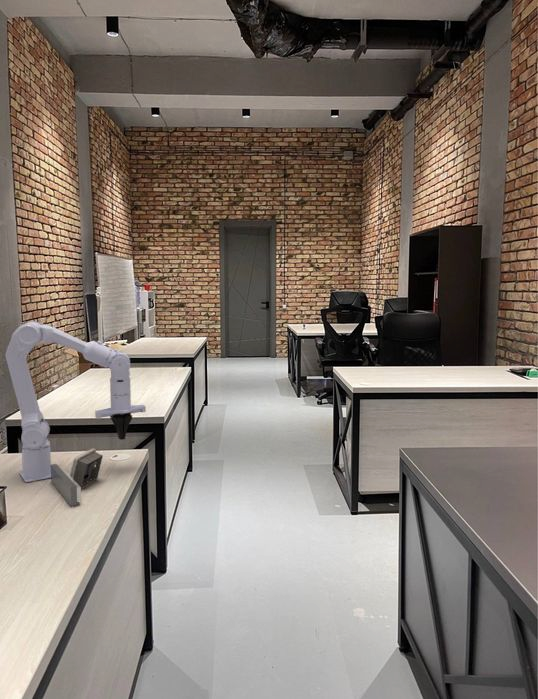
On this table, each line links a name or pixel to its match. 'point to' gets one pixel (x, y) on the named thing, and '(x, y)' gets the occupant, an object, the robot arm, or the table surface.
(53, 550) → the table surface
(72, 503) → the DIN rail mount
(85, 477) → the electrical switch
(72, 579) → the table surface
